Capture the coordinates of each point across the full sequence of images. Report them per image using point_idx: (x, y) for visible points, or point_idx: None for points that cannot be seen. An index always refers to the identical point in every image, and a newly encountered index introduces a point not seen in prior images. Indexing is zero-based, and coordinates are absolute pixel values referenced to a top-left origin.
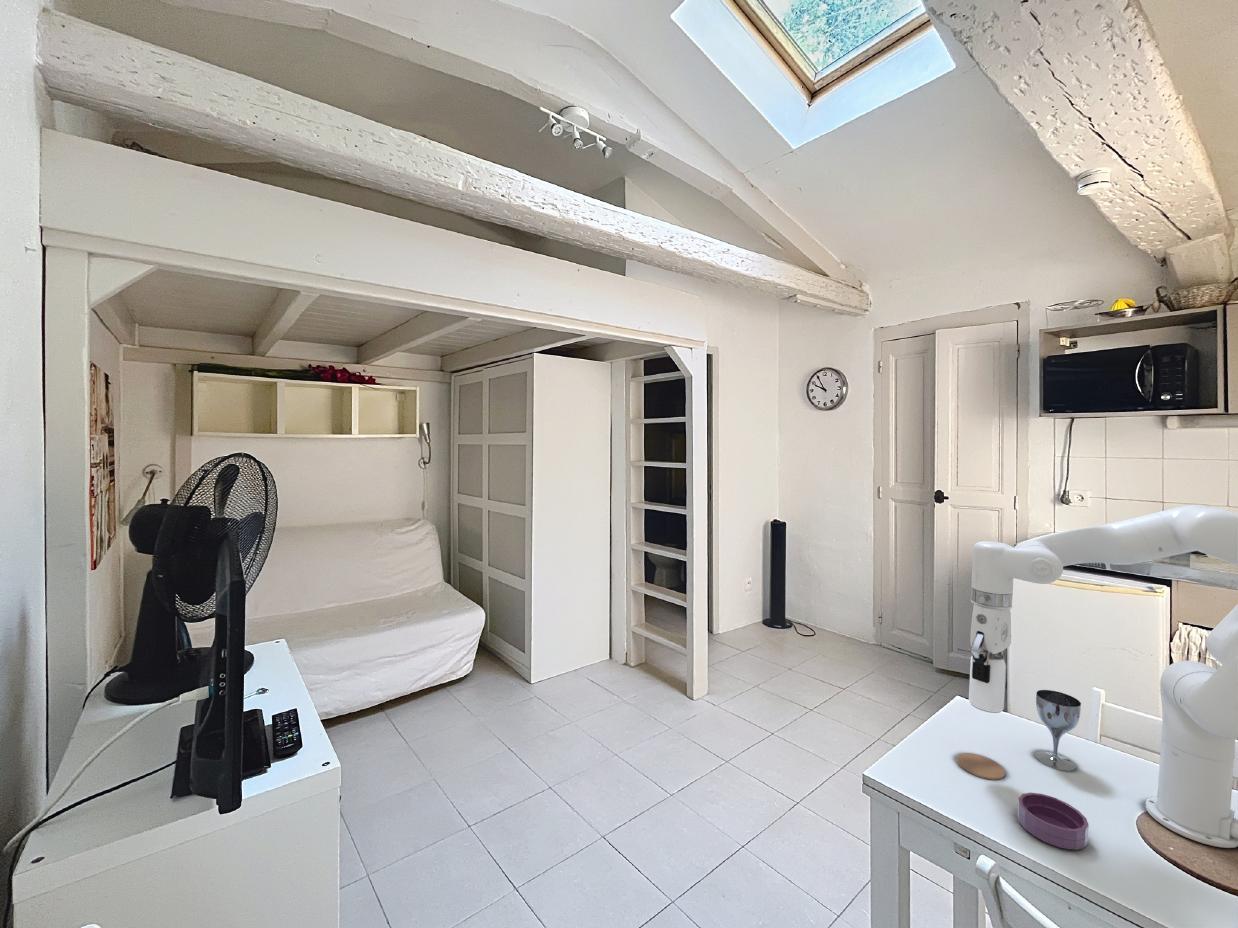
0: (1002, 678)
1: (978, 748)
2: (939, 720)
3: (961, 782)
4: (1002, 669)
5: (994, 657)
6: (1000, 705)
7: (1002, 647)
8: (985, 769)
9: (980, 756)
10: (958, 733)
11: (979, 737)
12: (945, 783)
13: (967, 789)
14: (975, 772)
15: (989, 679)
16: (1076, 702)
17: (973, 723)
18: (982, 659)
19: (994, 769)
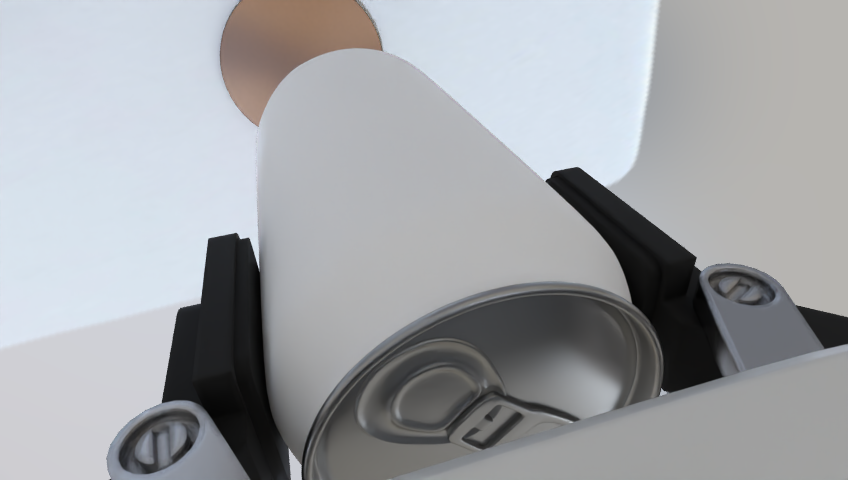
0: (452, 133)
1: (180, 138)
2: (144, 309)
3: (462, 44)
4: (499, 182)
5: (492, 367)
6: (387, 60)
7: (727, 470)
8: (316, 39)
9: (244, 98)
10: (156, 231)
11: (88, 183)
12: (511, 68)
13: (485, 11)
14: (371, 48)
15: (572, 179)
16: None
17: (2, 257)
18: (844, 329)
19: (280, 21)
